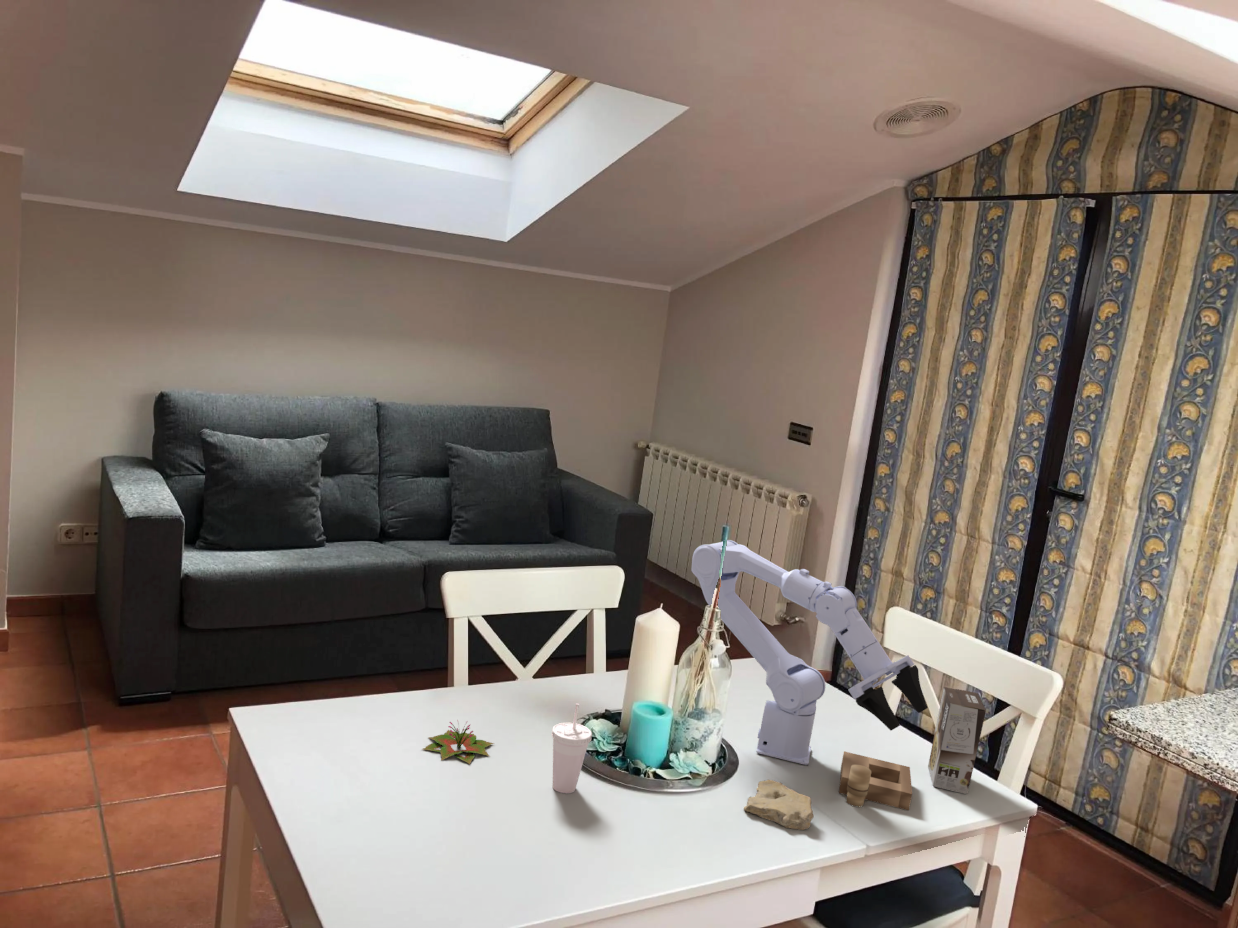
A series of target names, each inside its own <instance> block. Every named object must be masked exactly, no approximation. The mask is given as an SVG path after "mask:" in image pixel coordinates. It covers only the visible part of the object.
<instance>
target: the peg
mask: <svg viewBox="0 0 1238 928" xmlns="http://www.w3.org/2000/svg"><path fill="white" fill-rule="evenodd" d="M870 777H871V770H870V769H869V768H867V767H865V766H862V765H852V766H851V770H850V775H849V780H848V783H847V791H848V793H847V795H846V800H845V801H846V803H847V804H848V805H850V806H852V805H853V806H852V807H855V806H858V808H861V806H862V807H863V806H864V805H865V796H866V795H867V792H868V790H869V782H870ZM859 806H860V807H859Z"/></svg>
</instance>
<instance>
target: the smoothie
mask: <svg viewBox="0 0 1238 928" xmlns="http://www.w3.org/2000/svg"><path fill="white" fill-rule="evenodd" d="M579 709H580V703H577V702H576V703H575V708H574V714H573V720H572V721H573V722H570V721H569V722H560V723H557V724H555V725H553V727H552V730H551V737H552V788H553V790H554V791H556V792H557V793H561V794H571V793H574V792H575V791H576V789H577V785H578V781H579V777H580V775H581V770H582V768H583V765H584V764H583V763H584V760H585V757H586V752H587V751H588V746H589V743H590V742H591V741H592V735H593V732H592V730H590V728H588V727H587V726H585V725H583V724H580V723H577V722H578V716H579Z"/></svg>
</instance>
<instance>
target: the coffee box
mask: <svg viewBox="0 0 1238 928" xmlns="http://www.w3.org/2000/svg"><path fill="white" fill-rule="evenodd" d="M941 695H942V696H941V700H940V705H939V709H938V714H937V719H936V723H935V724H936V726H935V729H934V735H933V740H932V745H931V751H930V756H929V759H928V765H927V768H928V771H929V776H930V780H931V783H932V786H933V787H934V788H939V789H943V790H947V791H950V792H951V791H952V792H955V793H960V794H964V795H968V793H969V789H970V786H971V785H970V784H971V780H972V776H973V771H974V766H975V762H976V756H977V753H978V748H979V744H980V739H981V736H982V730H983V726H984V721H985V718H986V712H987V709H986V706H985V705H984V702H983V701H982V699H981V697H980V695H979V693H978V692H973V691H969V690H962V689H958V688H951V687H946V686H944V687H943V690H942V694H941Z"/></svg>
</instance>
